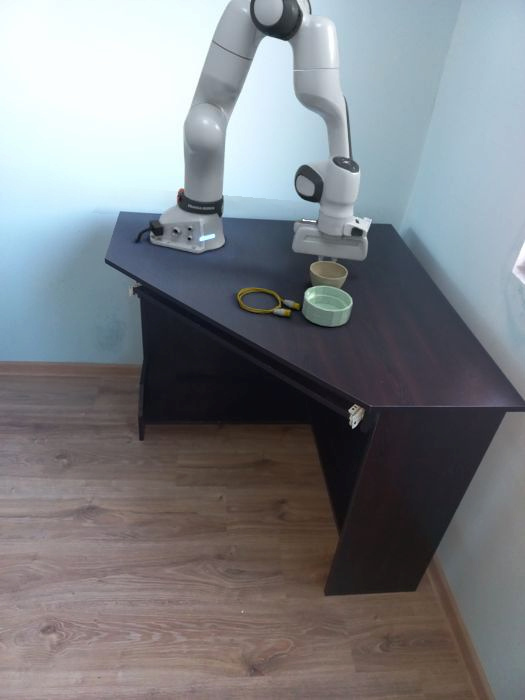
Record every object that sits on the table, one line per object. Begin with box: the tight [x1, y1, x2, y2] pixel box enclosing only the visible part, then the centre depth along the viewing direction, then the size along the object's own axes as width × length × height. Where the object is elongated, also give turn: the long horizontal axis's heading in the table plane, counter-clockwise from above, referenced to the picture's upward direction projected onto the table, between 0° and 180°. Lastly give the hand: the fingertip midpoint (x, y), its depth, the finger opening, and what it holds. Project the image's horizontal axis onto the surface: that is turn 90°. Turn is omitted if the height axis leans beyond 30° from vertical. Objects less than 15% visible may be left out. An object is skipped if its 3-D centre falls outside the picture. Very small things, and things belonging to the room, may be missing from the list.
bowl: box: [301, 286, 354, 328], centre depth 135 cm, size 12×12×5 cm
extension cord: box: [236, 287, 301, 318], centre depth 136 cm, size 12×16×2 cm
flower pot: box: [309, 260, 349, 289], centre depth 143 cm, size 10×10×7 cm
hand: (325, 269), depth 148 cm, fingers closed
